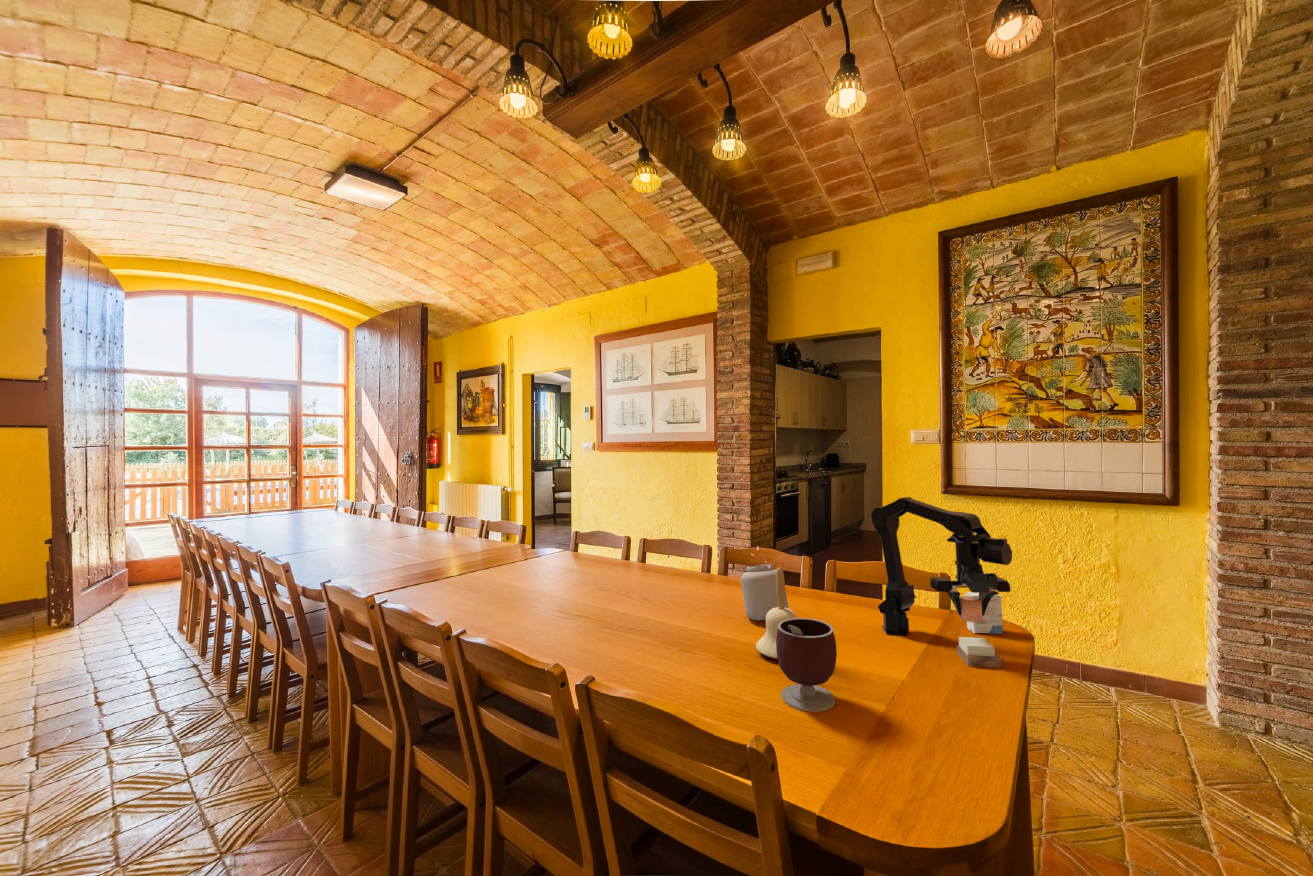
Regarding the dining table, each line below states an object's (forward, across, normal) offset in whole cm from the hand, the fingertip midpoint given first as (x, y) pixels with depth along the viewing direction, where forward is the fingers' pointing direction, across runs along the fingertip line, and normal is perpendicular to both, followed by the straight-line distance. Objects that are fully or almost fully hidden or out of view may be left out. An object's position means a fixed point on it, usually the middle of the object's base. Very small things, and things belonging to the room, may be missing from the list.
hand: (970, 615), depth 144 cm
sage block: (+9, 0, -3) cm, 9 cm away
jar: (+11, -56, +27) cm, 64 cm away
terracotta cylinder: (+1, 0, 0) cm, 1 cm away
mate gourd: (+11, -48, -30) cm, 58 cm away
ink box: (+12, +11, +20) cm, 26 cm away
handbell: (+11, -52, -3) cm, 53 cm away
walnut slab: (+12, 0, -3) cm, 12 cm away
